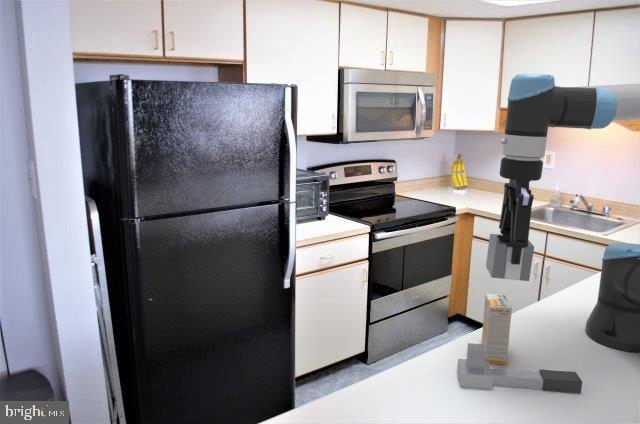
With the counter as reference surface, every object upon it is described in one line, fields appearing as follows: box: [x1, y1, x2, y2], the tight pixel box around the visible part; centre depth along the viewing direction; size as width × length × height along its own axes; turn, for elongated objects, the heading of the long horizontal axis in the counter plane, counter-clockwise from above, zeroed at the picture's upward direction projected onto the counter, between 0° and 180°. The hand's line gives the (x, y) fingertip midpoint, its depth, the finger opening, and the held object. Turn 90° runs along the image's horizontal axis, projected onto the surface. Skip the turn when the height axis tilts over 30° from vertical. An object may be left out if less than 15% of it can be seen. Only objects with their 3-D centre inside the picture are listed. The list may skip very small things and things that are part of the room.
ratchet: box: [456, 342, 583, 395], centre depth 103 cm, size 23×6×7 cm, turn 82°
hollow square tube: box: [485, 233, 535, 282], centre depth 102 cm, size 7×7×7 cm
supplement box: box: [480, 293, 513, 365], centre depth 114 cm, size 8×5×13 cm, turn 168°
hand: (507, 272), depth 103 cm, fingers closed on hollow square tube, 7 cm apart
